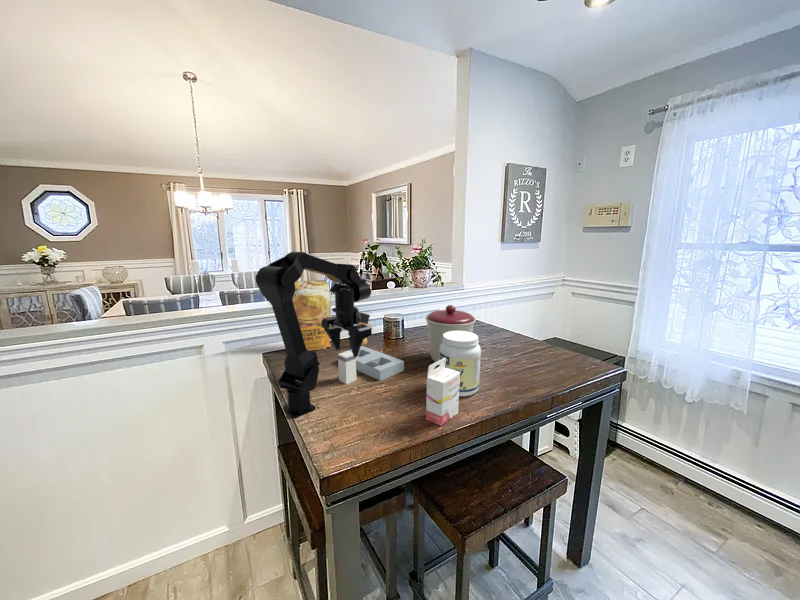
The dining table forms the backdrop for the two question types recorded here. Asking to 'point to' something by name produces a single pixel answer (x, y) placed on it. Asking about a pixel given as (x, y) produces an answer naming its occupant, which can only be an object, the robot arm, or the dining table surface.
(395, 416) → the dining table surface
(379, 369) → the socket block
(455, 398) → the ink cartridge box
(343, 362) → the plug
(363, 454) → the dining table surface
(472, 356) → the supplement tub
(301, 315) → the pancake mix bag
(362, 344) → the figurine
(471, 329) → the canister
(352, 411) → the dining table surface
